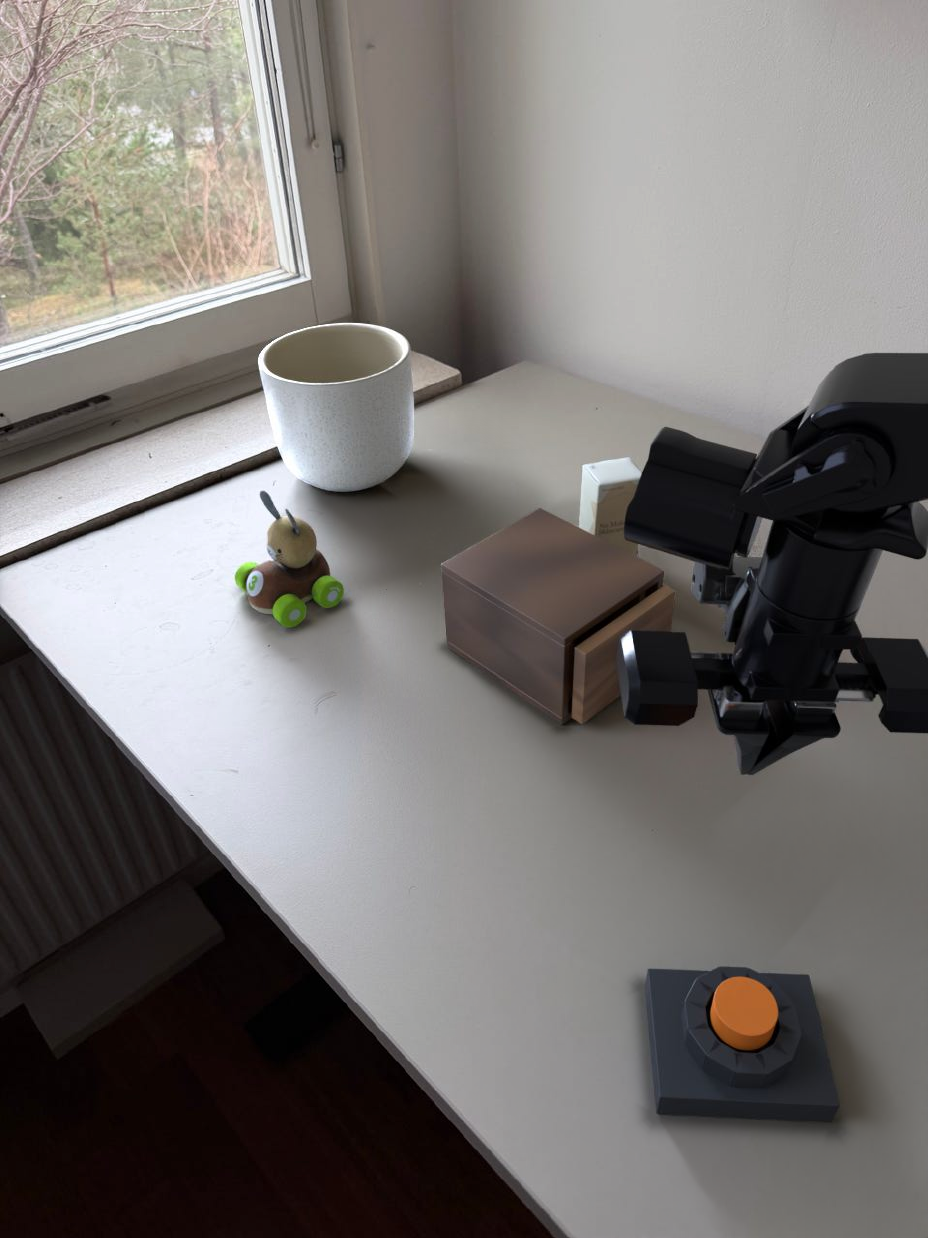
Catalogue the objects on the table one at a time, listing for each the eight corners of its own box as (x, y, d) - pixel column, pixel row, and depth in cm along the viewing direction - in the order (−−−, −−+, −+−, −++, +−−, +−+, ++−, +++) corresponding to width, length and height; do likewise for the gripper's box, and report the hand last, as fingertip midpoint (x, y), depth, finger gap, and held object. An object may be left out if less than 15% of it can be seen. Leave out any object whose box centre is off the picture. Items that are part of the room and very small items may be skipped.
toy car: (231, 594, 96) (207, 500, 89) (304, 559, 100) (287, 468, 93) (277, 636, 90) (257, 540, 83) (353, 598, 94) (339, 503, 87)
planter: (440, 488, 110) (432, 365, 101) (299, 522, 106) (276, 397, 96) (394, 426, 123) (383, 312, 113) (266, 454, 118) (244, 338, 108)
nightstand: (655, 655, 86) (665, 570, 80) (561, 725, 79) (564, 639, 73) (539, 588, 94) (540, 507, 88) (446, 647, 88) (440, 563, 82)
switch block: (802, 992, 60) (814, 958, 57) (832, 1123, 54) (847, 1091, 51) (644, 986, 61) (649, 952, 58) (656, 1114, 55) (662, 1082, 52)
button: (767, 993, 56) (772, 977, 55) (778, 1052, 53) (784, 1037, 52) (706, 990, 56) (709, 975, 55) (714, 1049, 54) (718, 1034, 53)
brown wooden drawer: (678, 666, 83) (687, 596, 78) (593, 732, 77) (597, 661, 72) (555, 595, 92) (557, 529, 87) (471, 650, 86) (467, 582, 81)
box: (590, 579, 95) (595, 485, 88) (575, 556, 98) (579, 463, 91) (639, 570, 96) (647, 475, 89) (622, 547, 99) (629, 454, 92)
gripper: (924, 509, 58) (848, 687, 68) (623, 499, 58) (593, 679, 68) (999, 629, 50) (900, 811, 60) (648, 618, 49) (609, 803, 60)
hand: (744, 769), depth 62 cm, fingers closed
